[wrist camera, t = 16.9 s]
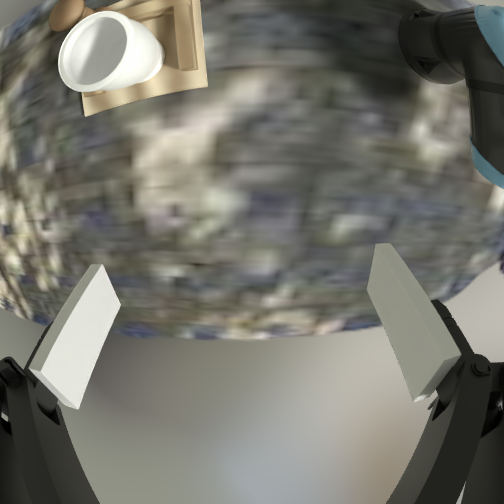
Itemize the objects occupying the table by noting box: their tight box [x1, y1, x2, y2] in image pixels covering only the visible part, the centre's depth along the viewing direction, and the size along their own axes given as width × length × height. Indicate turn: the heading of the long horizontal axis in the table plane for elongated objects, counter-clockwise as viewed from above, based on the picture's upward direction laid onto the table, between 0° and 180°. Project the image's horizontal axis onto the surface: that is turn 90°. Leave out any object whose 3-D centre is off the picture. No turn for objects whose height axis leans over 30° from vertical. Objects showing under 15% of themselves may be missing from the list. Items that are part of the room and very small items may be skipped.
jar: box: [58, 11, 165, 92], centre depth 26 cm, size 11×10×15 cm
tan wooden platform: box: [49, 0, 208, 117], centre depth 26 cm, size 22×20×12 cm
